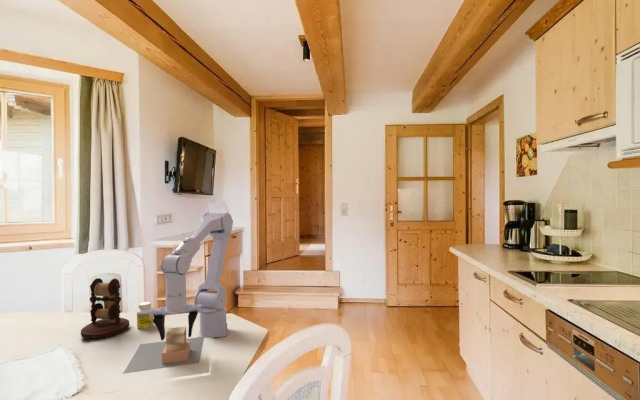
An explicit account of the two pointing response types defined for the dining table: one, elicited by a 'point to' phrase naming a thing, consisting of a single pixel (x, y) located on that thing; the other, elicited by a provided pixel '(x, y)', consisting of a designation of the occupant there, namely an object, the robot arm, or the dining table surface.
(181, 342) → the beech cube
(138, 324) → the supplement bottle
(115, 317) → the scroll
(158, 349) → the build board
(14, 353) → the dining table surface
